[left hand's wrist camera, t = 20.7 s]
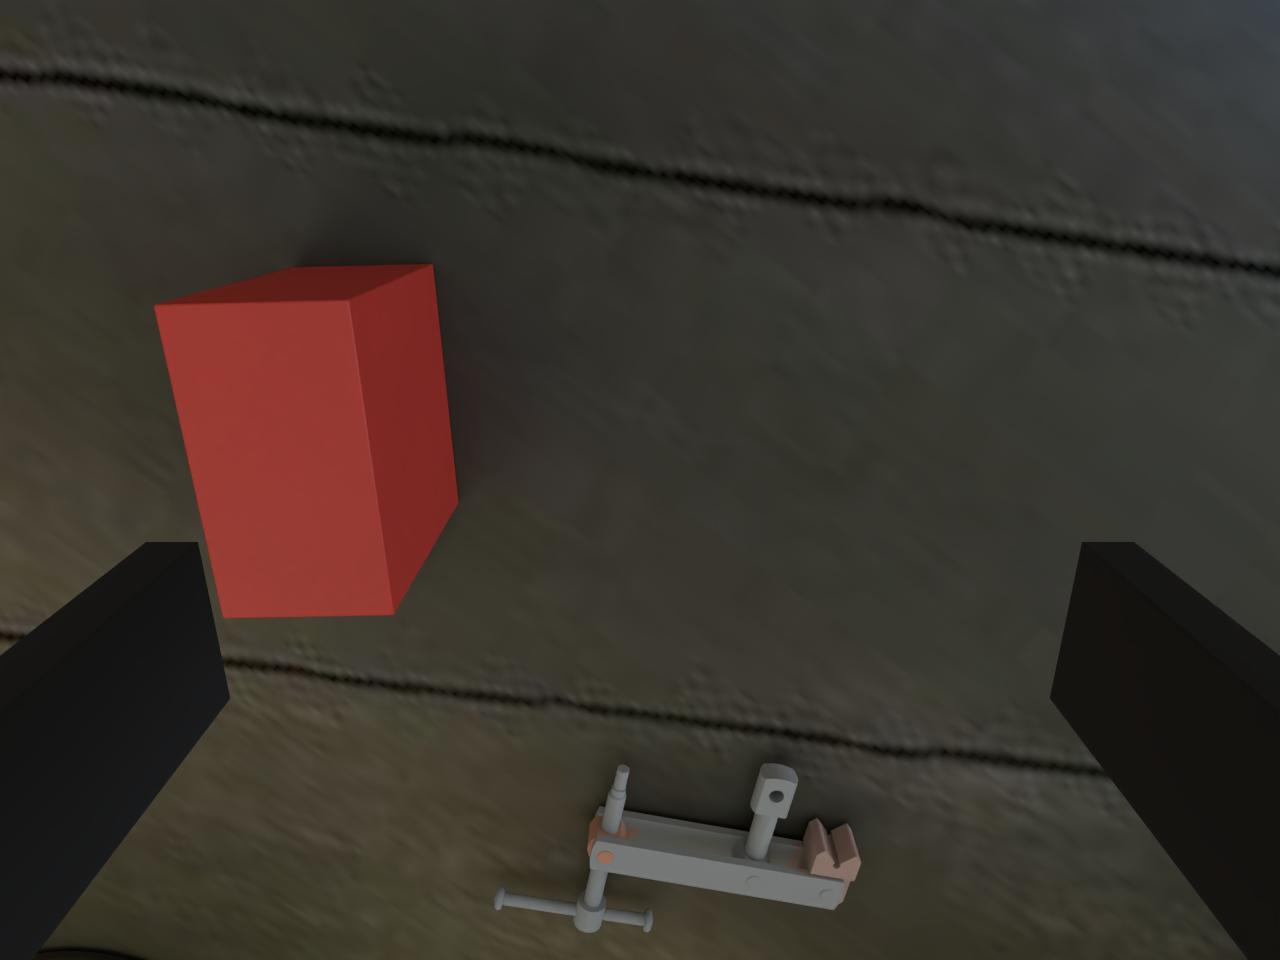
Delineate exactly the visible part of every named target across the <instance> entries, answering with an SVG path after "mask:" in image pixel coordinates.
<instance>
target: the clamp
mask: <svg viewBox="0 0 1280 960" xmlns="http://www.w3.org/2000/svg"><path fill="white" fill-rule="evenodd" d="M629 771H630V769H629V767H628V766H626V765H619V766H618V768H617V772H616V777H615V781H614V783H613V785H612V789H611V790H610V791H609V793H608V798H607V802H606V806H605V807H601V806H599V808H598V810H597V812H596V814H595V817H594V819H593V820H592V821H591V823H590V827H589V837H588V848H587V851H588V855H589V857H590V869H591V870H590V875H589V879H588V883H587V888H586V889H585V890H583V891H582V892H581V893H580V894H579V897H578V901H577V903H572V902H565V901H559V900H552V899H545V898H539V897H532V896H525V895H519V894H512V893H505V889H504V887H503V886H500V887H499V888H498V890H497V894H496V893H495V898H494V901H495V906H494V907H495V909H496V910H500V909H501V907H502V905H505V906H512V907H519V908H525V909H532V910H539V911H546V912H552V913H559V914H566V915H573V916H574V924H575V926H576V927H577V928H578V929H579V930H581V931H583V932H586V933H592V932H595V931H597V930H598V929H599V928H600V926H601V923H602V920H606V921H613V922H620V923H626V924H633V925H640V926H643V930H644V931H645V932H649V931H650V929H651V926H652V925H653V913H652V910H651V909H649V908H648V909H646V910H645V912H644V913H639V912H632V911H625V910H619V909H612V908H605V907H606V898H605V896H604V895H603V891H604V886H605V882H606V878H607V874H608V872H611V873H617V874H623V875H628V876H634V877H640V878H646V879H652V880H658V881H664V882H670V883H676V884H682V885H688V886H694V887H700V888H706V889H712V890H718V891H724V892H730V893H736V894H741V895H747V896H753V897H759V898H765V899H771V900H777V901H783V902H789V903H795V904H801V905H807V906H813V907H819V908H825V909H831V910H834V909H835V908H836V906H837V905H838V904H840V903H842V902H843V900H844V897H845V894H846V892H847V889H848V886H849V884H850V881H855V878H856V875H857V873H858V870H859V867H860V865H861V860H860V857H859V854H858V850H857V847H856V844H855V840H854V837H853V834H852V830H851V828H850V827H849V826H848V824H844V825H841V826H839V827H837V828H835V829H833V830H831V834H830V835H827V832H826V829H825V828H824V827H823V825H822V824H821V823H820V821H819V820H818V818H816V819H814V820H812V821H810V822H809V823H808V826H807V829H806V832H805V835H804V838H803V841H799V840H793V839H787V838H781V837H776V836H772V835H773V832H774V829H775V826H776V823H777V819H778V818H784V819H785V818H786V817H787V814H788V811H789V808H790V805H791V802H792V799H793V796H794V793H795V790H796V787H797V784H798V777H797V775H796V773H795V771H794V770H793V769H792V768H790V767H788V766H785V765H781V764H774V763H766V764H763V765H762V766H761V769H760V772H759V776H758V779H757V782H756V785H755V789H754V792H753V795H752V798H751V802H750V805H751V808H752V810H753V811H754V813H755V815H754V818H753V821H752V825H751V828H750V831H749V832H747V831H741V830H735V829H729V828H723V827H717V826H712V825H706V824H700V823H694V822H688V821H683V820H677V819H671V818H665V817H659V816H654V815H648V814H642V813H636V812H630V811H625V810H623V808H624V804H625V800H626V793H625V792H626V783H627V779H628V775H629Z"/></svg>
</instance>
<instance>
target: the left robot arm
mask: <svg viewBox="0 0 1280 960" xmlns="http://www.w3.org/2000/svg"><path fill="white" fill-rule="evenodd" d="M229 699H230V696H229V691H228V686H227V681H226V676H225V671H224V666H223V662H222V657H221V652H220V647H219V642H218V637H217V633H216V628H215V623H214V618H213V613H212V608H211V604H210V599H209V594H208V589H207V584H206V579H205V575H204V570H203V565H202V560H201V555H200V550H199V545H198V542H146V543H144V544H143V545H142V546H141V547H139V548H138V549H137V550H135V551H134V552H133V553H132V554H130V555H129V556H128V557H126V558H125V559H124V560H123V561H121V562H120V563H119V564H117V565H116V566H115V567H114V568H112V569H111V570H110V571H108V572H107V573H106V574H105V575H103V576H102V577H101V578H99V579H98V580H97V581H96V582H94V583H93V584H92V585H90V586H89V587H88V588H87V589H85V590H84V591H83V592H81V593H80V594H79V595H78V596H76V597H75V598H74V599H72V600H71V601H70V602H69V603H67V604H66V605H65V606H64V607H62V608H61V609H60V610H58V611H57V612H56V613H55V614H53V615H52V616H51V617H49V618H48V619H47V620H46V621H44V622H43V623H42V624H40V625H39V626H38V627H37V628H35V629H34V630H33V631H31V632H30V633H29V634H28V635H26V636H25V637H24V638H22V639H21V640H20V641H19V642H17V643H16V644H15V645H13V646H12V647H11V648H10V649H8V650H7V651H6V652H4V653H3V654H2V655H1V656H0V960H32V959H33V958H34V956H35V955H36V954H37V953H38V951H39V950H40V949H41V947H42V946H43V945H44V943H45V942H46V941H47V939H48V938H49V937H50V935H51V934H52V933H53V931H54V930H55V929H56V927H57V926H58V925H59V924H60V922H61V921H62V920H63V918H64V917H65V916H66V914H67V913H68V912H69V910H70V909H71V908H72V906H73V905H74V904H75V902H76V901H77V900H78V898H79V897H80V896H81V894H82V893H83V892H84V891H85V889H86V888H87V887H88V885H89V884H90V883H91V881H92V880H93V879H94V877H95V876H96V875H97V873H98V872H99V871H100V869H101V868H102V867H103V865H104V864H105V863H106V861H107V860H108V859H109V858H110V856H111V855H112V854H113V852H114V851H115V850H116V848H117V847H118V846H119V844H120V843H121V842H122V840H123V839H124V838H125V836H126V835H127V834H128V832H129V831H130V830H131V829H132V827H133V826H134V825H135V823H136V822H137V821H138V819H139V818H140V817H141V815H142V814H143V813H144V811H145V810H146V809H147V807H148V806H149V805H150V803H151V802H152V801H153V799H154V798H155V797H156V796H157V794H158V793H159V792H160V790H161V789H162V788H163V786H164V785H165V784H166V782H167V781H168V780H169V778H170V777H171V776H172V774H173V773H174V772H175V770H176V769H177V768H178V766H179V765H180V764H181V763H182V761H183V760H184V759H185V757H186V756H187V755H188V753H189V752H190V751H191V749H192V748H193V747H194V745H195V744H196V743H197V741H198V740H199V739H200V737H201V736H202V735H203V733H204V732H205V731H206V730H207V728H208V727H209V726H210V724H211V723H212V722H213V720H214V719H215V718H216V716H217V715H218V714H219V712H220V711H221V710H222V708H223V707H224V706H225V704H226V703H227V702H228V701H229ZM1050 699H1051V701H1052V702H1053V703H1054V704H1055V706H1056V707H1057V708H1058V710H1059V711H1060V712H1061V714H1062V715H1063V716H1064V718H1065V719H1066V720H1067V722H1068V723H1069V724H1070V726H1071V727H1072V728H1073V730H1074V731H1075V732H1076V734H1077V735H1078V736H1079V737H1080V739H1081V740H1082V741H1083V743H1084V744H1085V745H1086V747H1087V748H1088V749H1089V751H1090V752H1091V753H1092V755H1093V756H1094V757H1095V759H1096V760H1097V761H1098V763H1099V764H1100V765H1101V766H1102V768H1103V769H1104V770H1105V772H1106V773H1107V774H1108V776H1109V777H1110V778H1111V780H1112V781H1113V782H1114V784H1115V785H1116V786H1117V788H1118V789H1119V790H1120V792H1121V793H1122V794H1123V796H1124V797H1125V798H1126V799H1127V801H1128V802H1129V803H1130V805H1131V806H1132V807H1133V809H1134V810H1135V811H1136V813H1137V814H1138V815H1139V817H1140V818H1141V819H1142V821H1143V822H1144V823H1145V825H1146V826H1147V827H1148V829H1149V830H1150V831H1151V832H1152V834H1153V835H1154V836H1155V838H1156V839H1157V840H1158V842H1159V843H1160V844H1161V846H1162V847H1163V848H1164V850H1165V851H1166V852H1167V854H1168V855H1169V856H1170V858H1171V859H1172V860H1173V861H1174V863H1175V864H1176V865H1177V867H1178V868H1179V869H1180V871H1181V872H1182V873H1183V875H1184V876H1185V877H1186V879H1187V880H1188V881H1189V883H1190V884H1191V885H1192V887H1193V888H1194V889H1195V891H1196V892H1197V893H1198V894H1199V896H1200V897H1201V898H1202V900H1203V901H1204V902H1205V904H1206V905H1207V906H1208V908H1209V909H1210V910H1211V912H1212V913H1213V914H1214V916H1215V917H1216V918H1217V920H1218V921H1219V922H1220V924H1221V925H1222V926H1223V927H1224V929H1225V930H1226V931H1227V933H1228V934H1229V935H1230V937H1231V938H1232V939H1233V941H1234V942H1235V943H1236V945H1237V946H1238V947H1239V949H1240V950H1241V951H1242V953H1243V954H1244V955H1245V956H1246V958H1247V959H1248V960H1280V656H1279V655H1278V654H1277V653H1276V652H1274V651H1273V650H1272V649H1270V648H1269V647H1268V646H1267V645H1265V644H1264V643H1263V642H1261V641H1260V640H1259V639H1258V638H1256V637H1255V636H1254V635H1252V634H1251V633H1250V632H1249V631H1247V630H1246V629H1245V628H1243V627H1242V626H1241V625H1240V624H1238V623H1237V622H1236V621H1234V620H1233V619H1232V618H1231V617H1229V616H1228V615H1227V614H1225V613H1224V612H1223V611H1222V610H1220V609H1219V608H1218V607H1216V606H1215V605H1214V604H1213V603H1211V602H1210V601H1209V600H1207V599H1206V598H1205V597H1204V596H1202V595H1201V594H1200V593H1199V592H1197V591H1196V590H1195V589H1193V588H1192V587H1191V586H1190V585H1188V584H1187V583H1186V582H1184V581H1183V580H1182V579H1181V578H1179V577H1178V576H1177V575H1175V574H1174V573H1173V572H1172V571H1170V570H1169V569H1168V568H1166V567H1165V566H1164V565H1163V564H1161V563H1160V562H1159V561H1157V560H1156V559H1155V558H1154V557H1152V556H1151V555H1150V554H1148V553H1147V552H1146V551H1145V550H1143V549H1142V548H1141V547H1139V546H1138V545H1137V544H1136V543H1134V542H1082V545H1081V550H1080V555H1079V560H1078V565H1077V570H1076V574H1075V579H1074V584H1073V589H1072V594H1071V599H1070V604H1069V608H1068V613H1067V618H1066V623H1065V628H1064V633H1063V637H1062V642H1061V647H1060V652H1059V657H1058V662H1057V666H1056V671H1055V676H1054V681H1053V686H1052V691H1051V695H1050Z"/></svg>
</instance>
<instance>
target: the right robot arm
mask: <svg viewBox="0 0 1280 960" xmlns="http://www.w3.org/2000/svg"><path fill="white" fill-rule="evenodd" d="M32 960H131V959H127V958H123V957H118V956H114V955H108V954H102V953H95V952H85V951H53V952H45V953H38V954H36V955H35V956H34V958H33V959H32Z"/></svg>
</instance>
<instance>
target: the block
mask: <svg viewBox="0 0 1280 960" xmlns="http://www.w3.org/2000/svg"><path fill="white" fill-rule="evenodd" d="M154 308H155V313H156V317H157V322H158V326H159V331H160V335H161V340H162V344H163V349H164V353H165V358H166V362H167V367H168V371H169V376H170V380H171V385H172V389H173V394H174V398H175V403H176V407H177V412H178V416H179V421H180V425H181V430H182V434H183V439H184V443H185V448H186V452H187V457H188V461H189V466H190V470H191V475H192V480H193V484H194V489H195V493H196V498H197V502H198V507H199V511H200V516H201V520H202V525H203V529H204V534H205V538H206V543H207V547H208V552H209V556H210V561H211V565H212V570H213V574H214V579H215V583H216V588H217V592H218V597H219V601H220V606H221V610H222V615H223V618H258V617H315V616H372V615H393V614H394V613H395V611H396V610H397V608H398V606H399V604H400V603H401V601H402V599H403V597H404V596H405V594H406V592H407V591H408V589H409V587H410V585H411V584H412V582H413V580H414V578H415V577H416V575H417V573H418V572H419V570H420V568H421V566H422V565H423V563H424V561H425V559H426V558H427V556H428V554H429V553H430V551H431V549H432V547H433V546H434V544H435V542H436V540H437V539H438V537H439V535H440V533H441V532H442V530H443V528H444V527H445V525H446V523H447V521H448V520H449V518H450V516H451V514H452V513H453V511H454V509H455V508H456V506H457V504H458V493H457V483H456V474H455V465H454V455H453V446H452V437H451V428H450V418H449V409H448V400H447V390H446V381H445V372H444V362H443V353H442V344H441V335H440V325H439V316H438V307H437V297H436V288H435V279H434V270H433V264H403V265H364V266H325V267H292V268H289V269H285V270H281V271H277V272H274V273H270V274H266V275H263V276H259V277H255V278H251V279H248V280H244V281H240V282H237V283H233V284H229V285H225V286H222V287H218V288H214V289H211V290H207V291H203V292H199V293H196V294H192V295H188V296H184V297H181V298H177V299H173V300H170V301H166V302H162V303H158V304H155V305H154Z"/></svg>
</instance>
